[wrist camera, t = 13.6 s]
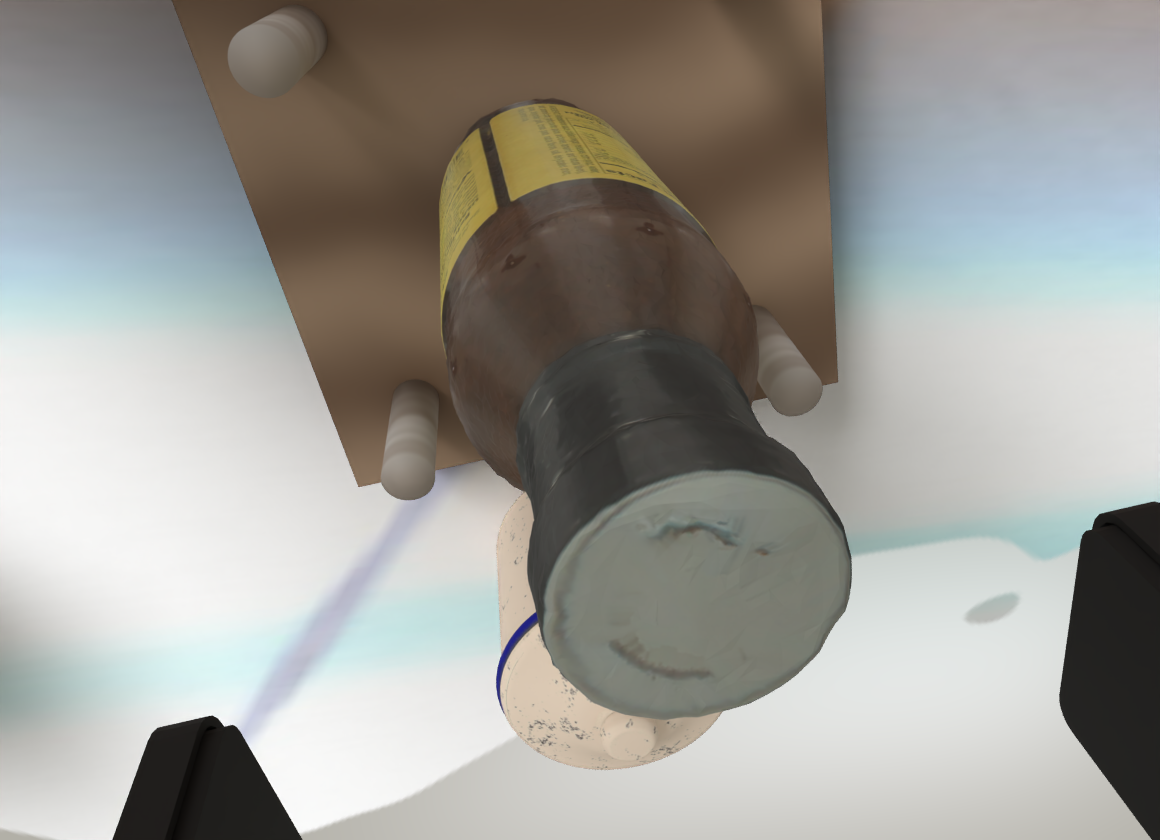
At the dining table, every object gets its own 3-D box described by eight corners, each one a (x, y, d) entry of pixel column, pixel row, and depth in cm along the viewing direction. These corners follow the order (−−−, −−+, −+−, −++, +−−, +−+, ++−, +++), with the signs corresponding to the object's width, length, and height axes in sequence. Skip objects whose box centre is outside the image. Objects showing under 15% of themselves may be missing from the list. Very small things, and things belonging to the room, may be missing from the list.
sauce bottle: (511, 320, 30) (575, 860, 13) (400, 160, 27) (293, 586, 10) (678, 220, 29) (988, 665, 12) (582, 43, 26) (812, 292, 9)
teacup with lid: (463, 591, 42) (462, 809, 32) (533, 430, 38) (557, 621, 28) (692, 645, 45) (757, 858, 35) (777, 503, 41) (878, 696, 31)
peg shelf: (193, -65, 28) (78, -53, 19) (763, -189, 28) (889, -230, 19) (369, 426, 37) (342, 574, 28) (798, 332, 37) (894, 453, 29)
